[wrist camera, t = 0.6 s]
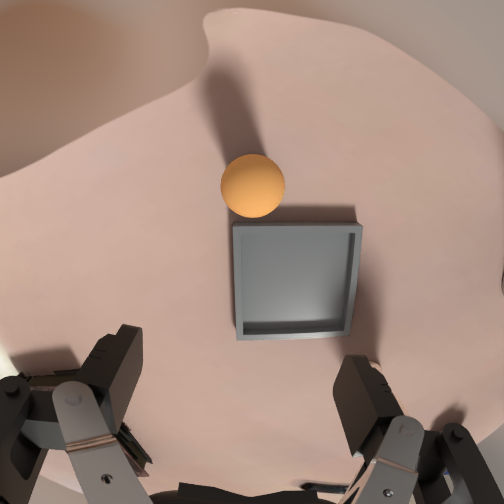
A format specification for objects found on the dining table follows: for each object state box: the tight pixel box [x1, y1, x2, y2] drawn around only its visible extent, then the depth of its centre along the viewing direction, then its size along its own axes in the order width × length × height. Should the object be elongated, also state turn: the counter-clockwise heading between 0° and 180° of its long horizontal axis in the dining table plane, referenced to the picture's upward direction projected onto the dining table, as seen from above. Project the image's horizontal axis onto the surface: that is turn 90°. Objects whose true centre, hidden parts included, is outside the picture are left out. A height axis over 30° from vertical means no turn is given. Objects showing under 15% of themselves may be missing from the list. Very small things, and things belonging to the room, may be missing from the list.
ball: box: [221, 154, 285, 218], centre depth 24 cm, size 5×5×5 cm
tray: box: [233, 222, 363, 340], centre depth 36 cm, size 14×14×2 cm
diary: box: [17, 369, 153, 477], centre depth 44 cm, size 19×25×5 cm
